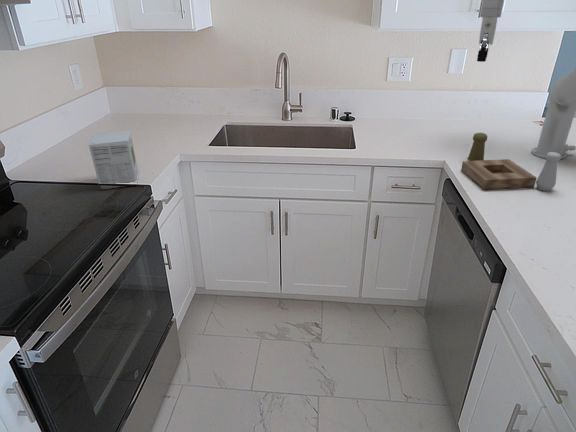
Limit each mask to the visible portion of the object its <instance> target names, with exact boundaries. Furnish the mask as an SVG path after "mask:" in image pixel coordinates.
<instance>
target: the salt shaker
mask: <svg viewBox="0 0 576 432" xmlns="http://www.w3.org/2000/svg"><path fill="white" fill-rule="evenodd" d="M545 160H546V161H545V163H544V165H543V166H542V169H541V171H540V173H539V175H538V177H537V179H536V182H535V185H536V187H537V189H538V190H539V189H540V190H539V191H541V190H543V191H542V192H550V191H551V190H553V188H555V186H556V184H557V173H558V163H559V162H560V160H562V159H561V155H560V154H559V153H556V152H549V153H547V155H546V158H545ZM549 190H550V191H549Z"/></svg>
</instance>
